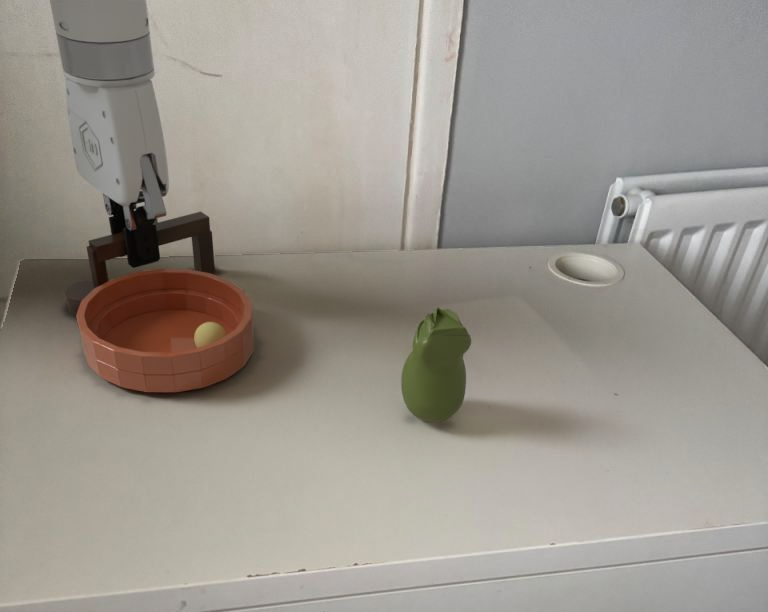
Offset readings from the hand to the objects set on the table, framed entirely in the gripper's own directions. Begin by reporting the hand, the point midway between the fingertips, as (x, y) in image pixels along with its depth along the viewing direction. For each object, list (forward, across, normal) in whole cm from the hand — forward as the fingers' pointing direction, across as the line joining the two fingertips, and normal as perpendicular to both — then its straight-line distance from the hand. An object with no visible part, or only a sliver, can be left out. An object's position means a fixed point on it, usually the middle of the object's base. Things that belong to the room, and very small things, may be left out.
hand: (137, 256), depth 83 cm
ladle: (+4, 0, 0) cm, 4 cm away
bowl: (+4, +11, -3) cm, 12 cm away
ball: (+2, +14, -1) cm, 14 cm away
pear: (+4, +33, +10) cm, 35 cm away
